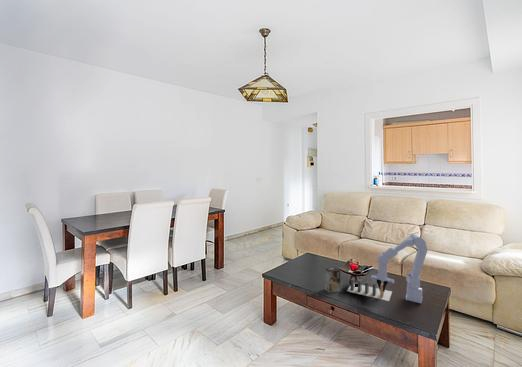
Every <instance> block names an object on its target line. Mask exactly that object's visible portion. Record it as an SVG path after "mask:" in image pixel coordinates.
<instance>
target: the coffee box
mask: <svg viewBox="0 0 522 367" xmlns="http://www.w3.org/2000/svg"><path fill="white" fill-rule="evenodd" d="M324 289H325V291H326V292H328V293H329V294H330V293H338V292H341V270H340V269H338V268H337V267H335V266H334V267H330V268H329V267H328V268H324Z"/></svg>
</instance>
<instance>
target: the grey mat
mask: <svg viewBox="0 0 522 367" xmlns="http://www.w3.org/2000/svg"><path fill="white" fill-rule="evenodd" d="M346 292H349V293H353V294H358V295H360V296H361V295H362V296H366V297H371V298H375V299H378V300H381V301H382V300H383V301H386V302H390V300H391V297H392V293H393V291H392V290H387V289H385V291H384V296H383V298H381V297H380V290H379V287H378V288H377V287H376V295H375V296H373V286H369V292H368V294H365V284H362V290H361V292H358V287H355V288H354V290H353V291H351V285H350V286H348V288H347V289H346Z"/></svg>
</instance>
